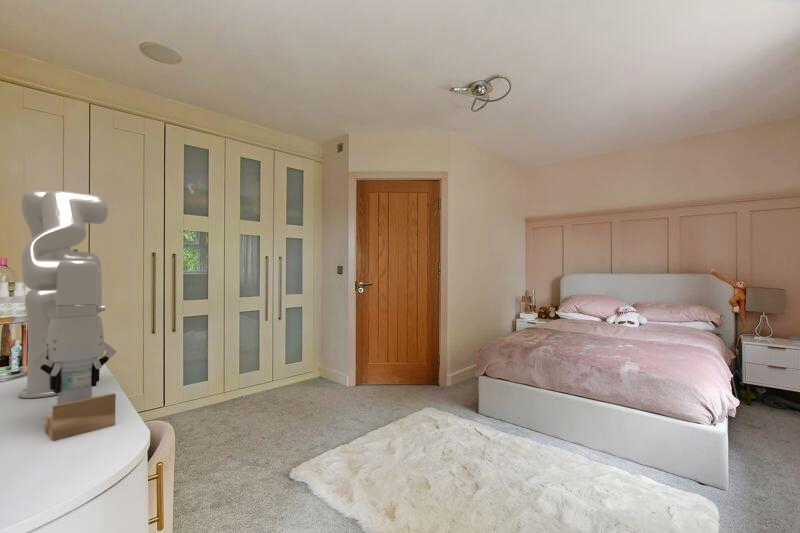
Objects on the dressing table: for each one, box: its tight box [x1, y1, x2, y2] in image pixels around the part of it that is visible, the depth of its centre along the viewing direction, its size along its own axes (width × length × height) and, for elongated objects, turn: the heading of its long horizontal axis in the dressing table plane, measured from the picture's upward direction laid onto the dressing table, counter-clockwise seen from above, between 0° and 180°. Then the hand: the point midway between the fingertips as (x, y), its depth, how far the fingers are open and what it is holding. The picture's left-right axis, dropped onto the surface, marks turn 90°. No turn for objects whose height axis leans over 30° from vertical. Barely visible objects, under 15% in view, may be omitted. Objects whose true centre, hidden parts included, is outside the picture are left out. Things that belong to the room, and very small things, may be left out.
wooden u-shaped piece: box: [44, 392, 117, 441], centre depth 83 cm, size 8×11×7 cm
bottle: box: [56, 345, 94, 405], centre depth 87 cm, size 7×7×20 cm
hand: (75, 387), depth 87 cm, fingers closed on bottle, 5 cm apart
